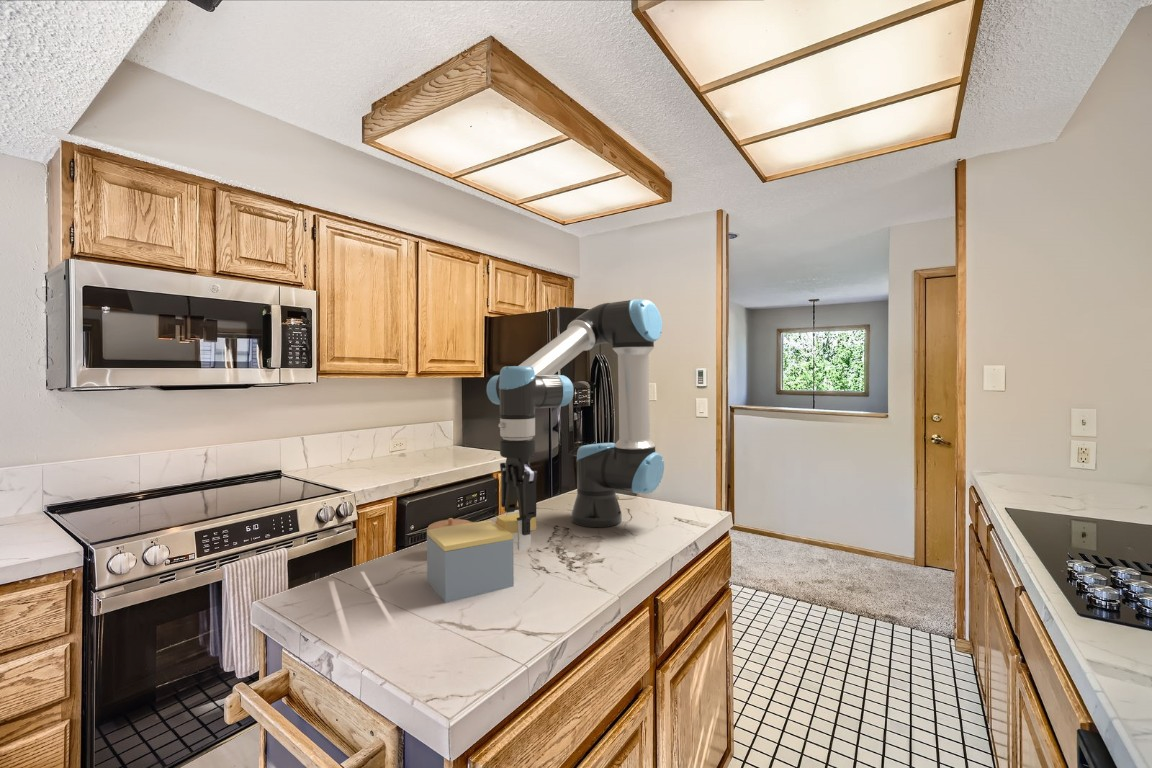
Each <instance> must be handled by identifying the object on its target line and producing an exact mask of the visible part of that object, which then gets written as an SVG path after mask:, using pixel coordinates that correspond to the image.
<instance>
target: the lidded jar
mask: <svg viewBox="0 0 1152 768" xmlns="http://www.w3.org/2000/svg"><path fill="white" fill-rule="evenodd" d="M467 523H473V522H472V521H471V520H467V519H459V518H453V517H449V518H448V519H442V520H439V521H435V522H433V523H431V524H429V525H428V527H427V530H429V529H435V528H441V527H448V526H454V525H461V524H467Z"/></svg>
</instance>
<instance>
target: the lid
mask: <svg viewBox="0 0 1152 768" xmlns="http://www.w3.org/2000/svg"><path fill="white" fill-rule="evenodd" d="M519 517H520V516H519V513H518V514H512V515H506V514H505V515H500V516H496V522H495V521H493V520H492V519H487V520H481V521H475V522H474V521H473V522H472V523H467V524H461V525H454V526H448V527H441V528H435V529H429V530H428V529H426V536H427V535H428V536H429V537H430V538H431V539H432V540H433V541H434V542H435V543H436V544H437V545H438V546H439V547H440V548H441V549H442V550H444V551H450V550H456V549H461V548H467V547H472V546H478V545H483V544H489V543H494V542H500V541H505V540H511V539H513V534H512V533H517V532H518V521H517V518H519ZM533 530H537V516H536V517H535V518H531V531H533Z"/></svg>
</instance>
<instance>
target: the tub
mask: <svg viewBox="0 0 1152 768" xmlns="http://www.w3.org/2000/svg"><path fill="white" fill-rule="evenodd" d="M514 569H515V568H514V542H513V539H511V540H505V541H500V542H494V543H489V544H483V545H478V546H472V547H467V548H461V549H456V550H450V551H444V550H442V549H441V548H440V547H439V546H438V545H437V544H436V543H435V542H434V541H433V540H432V539H431V538H430V537H429V536H428V535H427V534H426V574H427V575H426V578H427V579H426V581H427V582H428V584H429V586H431V587H432V588H433V590H434V591H435V592H436V594H437V595H439V597H440V598H441V599H442V601H443V602H444V603H445V604H448V603H452V602H456V601H460V600H464V599H468V598H469V599H470V598H472V597H476V596H480V595H485V594H488V593H492V592H496V591H500V590H504V589H507V588H513V587H514V584H515V581H514V578H515V576H514V574H515V573H514V572H515V571H514Z"/></svg>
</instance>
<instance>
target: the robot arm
mask: <svg viewBox="0 0 1152 768" xmlns="http://www.w3.org/2000/svg"><path fill="white" fill-rule="evenodd" d="M662 333H663V320H662V315H661V313H660V311H659V309H658V308H657V306H656V305H655V303H654V302H653V301H651V300H648V299H629V300H622V301H615V302H604V303H601V304H598V305H596V306H594V307H592V308H590V309H588V310H586V311H585V312H583V313H582V314H580V315H578V316H577V317H576V318H574V319H573V320H571V322H569V324H567V327H566V330H564V331H563V332H561V333H560V334H559V335H557V336H556V337H555V338H553V339H551V340H550V342H548V343H546V344H545V345H544V346H543V347H541V348H540V349H538V350H537V351H536V352H535V353H534V354H532V355H530V356H529V357H528V358H527V359H525V360H524V361H522V363H520V364H519V365H518V366H517V365H513V366H503V367H501V369H500V371H499V374H498V375H497V374H496V375H494V376H492V377H491V378H490V379H489V380H488V382H487V384H486V395H487V398H488V400H489V401H490V402H491V403H492V404H495V405H499V423H498V425H497V426H498V428H499V430H500V431H499V435H500V437H501V439H500V441H499V454H500V457H502V458H506V459H505V460H506V461H505V462H500V463H499V467H500V488H501V489H500V499H501V500H500V506H501V507H502V508H504V511H505V512H506V513H505V515H512V514H518V513H519V516H520V517H519V518H517V521H518V532H517V533H512V534H513V543H516V542H517V550H518V552H521V551H525V550H530V549H532V547H531V546H532V544H531V540H532V535H531V534H532V532H531V531H532V530H531V518H535V517H536V518H537V477H538V470H533V469H531V462H530V459H531V457H532V458H533V456H535V455H536V439H535V438H534V437H535V436H536V410H537V409H547V408H548V409H550V408H557V409H558V408H559V407H560V408H561V407H565V406H567V405H569V404H570V403H571V401H572V400H573V397H574V384H573V382H572V381H571V380H570V378H569V377H567V376H566V375H563V374H562V375H561V374H556V373H557V372H559V371H560V370H561V369H562V368H564V367H565V366H566V365H567V364H568V363H570V362H571V361H573V360H574V359H575V358H576V357H577V356H579V355H580V354H581V353H582V352H584V351H585V352H586V351H590V350H591V349H593V348H594V347H595V346H598V345H602V344H612V345H611V346H612V348H611V349H612V351H614V352H615V353H616V354H617V370H618V371H617V376H618V378H617V379H618V384H617V385H618V425H619V426H618V434H619V435H618V436H619V439H618V440H617V441H616V442H600V443H599V442H598V443H591V444H586V445H585V444H584V445H581V446H580V447H578V449H577V453H576V482H577V483H576V486H577V489H576V491H577V492H576V493H577V494H576V498H575V501H574V504H573V508H572V511H571V522H572V523H574V524H576V525H578V526H581V527H586V528H587V527H588V528H590V527H591V528H606V527H607V528H608V527H613V526H616V525H619V524H621V522H622V520H623V519H622V510H621V507H620V503H619V501H618V498H617V491H625V492H629V493H633V494H642V495H649V494H651V493H653V492H654V491H656V490H657V489H658V487H659V485H660V483H661V482H662V479H663V476H664V471H665V460H664V459H663V456H662V455H661V454H660V453H659V452H656V444H655V442H653V441H652V440H651V438H650V437H651V434H650V432H651V430H650V427H651V426H650V425H651V424H650V421H651V420H650V419H651V418H650V372H649V371H650V369H649V368H650V367H649V365H650V363H649V361H650V360H649V359H650V358H649V355H650V353H651V352H652V351H653V350H654V348H655V344H654V343H655V342H656V341H658V340H659V339H661V334H662ZM616 490H617V491H616Z"/></svg>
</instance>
